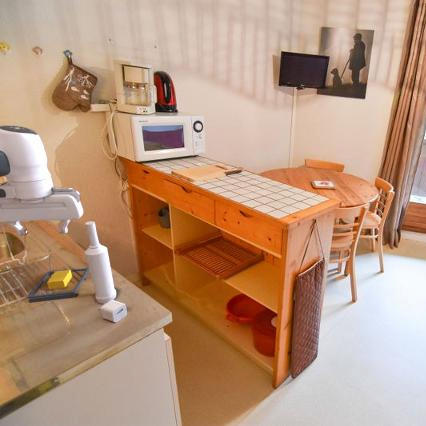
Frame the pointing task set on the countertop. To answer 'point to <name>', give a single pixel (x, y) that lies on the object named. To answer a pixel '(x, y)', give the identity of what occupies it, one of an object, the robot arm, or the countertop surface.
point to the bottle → (99, 267)
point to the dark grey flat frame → (55, 297)
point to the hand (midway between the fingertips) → (44, 233)
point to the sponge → (59, 279)
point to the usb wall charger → (113, 311)
